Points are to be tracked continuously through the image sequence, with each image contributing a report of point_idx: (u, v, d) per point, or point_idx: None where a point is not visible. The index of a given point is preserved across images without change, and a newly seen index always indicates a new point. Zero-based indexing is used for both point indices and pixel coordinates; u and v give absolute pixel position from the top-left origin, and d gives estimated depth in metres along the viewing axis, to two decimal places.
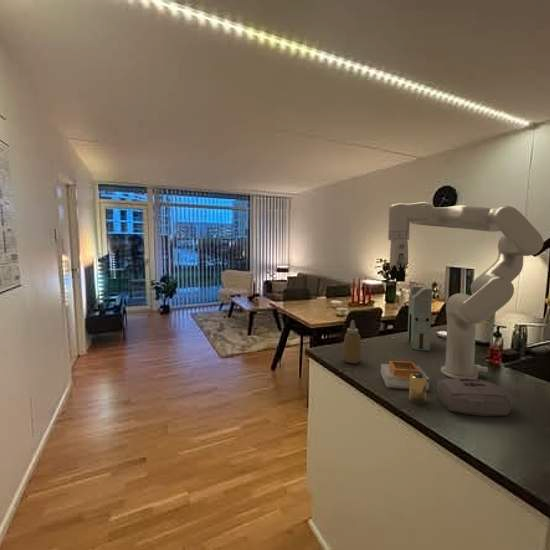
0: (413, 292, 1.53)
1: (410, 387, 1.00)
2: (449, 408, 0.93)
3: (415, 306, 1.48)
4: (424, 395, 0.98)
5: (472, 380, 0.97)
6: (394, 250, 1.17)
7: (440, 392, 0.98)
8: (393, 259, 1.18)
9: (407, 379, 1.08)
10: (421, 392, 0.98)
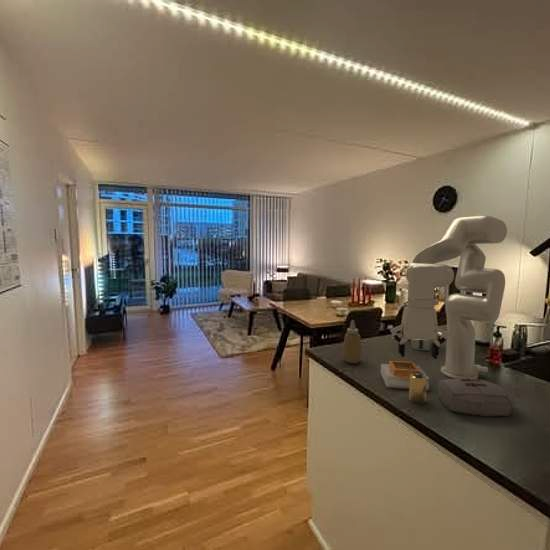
0: None
1: (410, 387, 1.00)
2: (450, 408, 0.93)
3: None
4: (424, 395, 0.98)
5: (473, 380, 0.97)
6: (434, 322, 0.95)
7: (441, 392, 0.98)
8: (429, 333, 0.96)
9: (407, 379, 1.08)
10: (421, 392, 0.98)
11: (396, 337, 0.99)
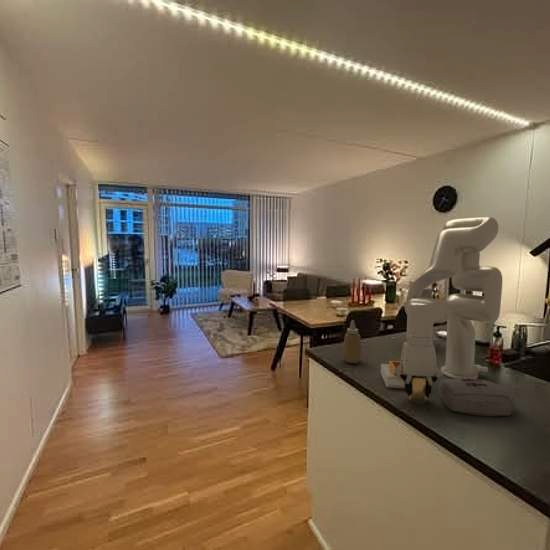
0: None
1: None
2: (451, 408, 0.93)
3: None
4: (424, 395, 0.98)
5: (474, 380, 0.97)
6: (433, 359, 0.96)
7: (442, 392, 0.98)
8: (429, 370, 0.97)
9: None
10: (421, 392, 0.98)
11: (402, 376, 1.00)
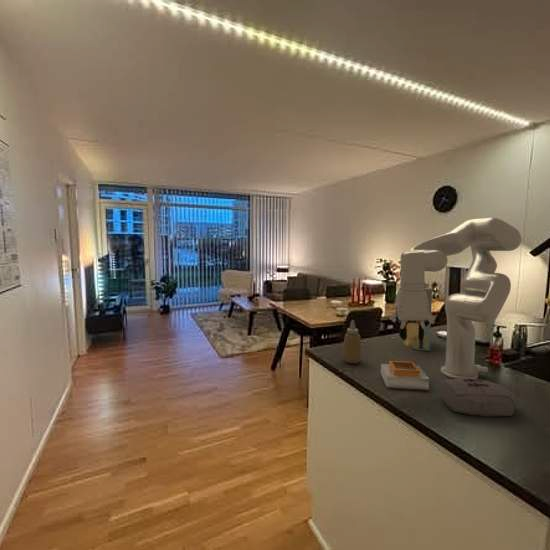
0: None
1: None
2: (453, 409, 0.93)
3: None
4: (418, 338, 1.05)
5: (476, 380, 0.97)
6: (425, 304, 1.03)
7: (444, 393, 0.98)
8: (421, 314, 1.04)
9: (407, 379, 1.08)
10: (415, 335, 1.04)
11: (397, 322, 1.06)
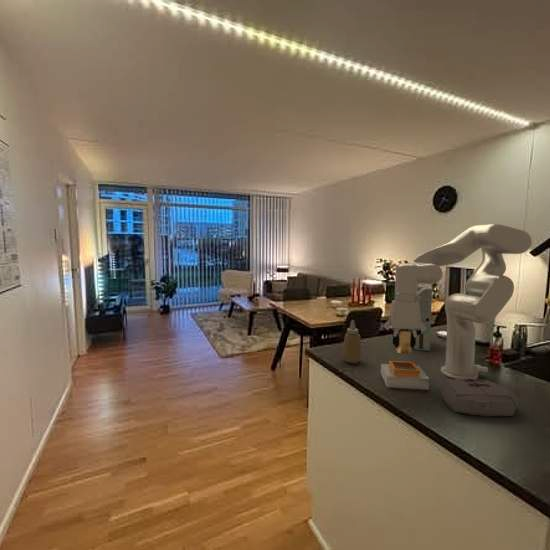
0: None
1: None
2: (454, 409, 0.93)
3: None
4: (409, 346, 1.11)
5: (476, 380, 0.96)
6: (417, 314, 1.09)
7: (445, 393, 0.97)
8: (413, 323, 1.10)
9: (407, 379, 1.08)
10: (407, 343, 1.10)
11: (390, 330, 1.13)
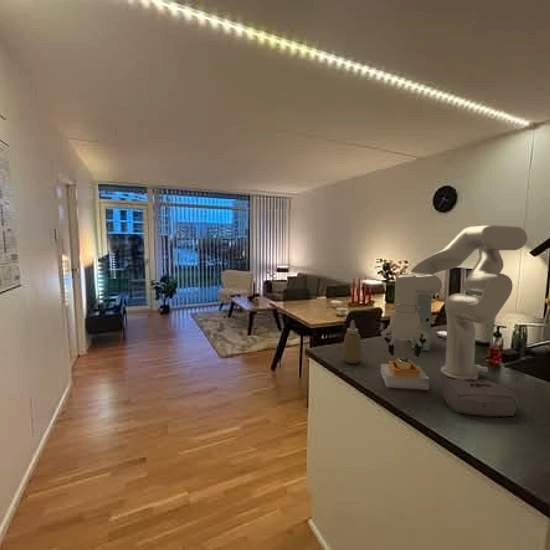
0: None
1: None
2: (455, 409, 0.92)
3: None
4: None
5: (477, 381, 0.96)
6: (417, 324, 1.10)
7: (445, 393, 0.97)
8: (413, 334, 1.10)
9: (407, 379, 1.08)
10: None
11: (386, 339, 1.13)
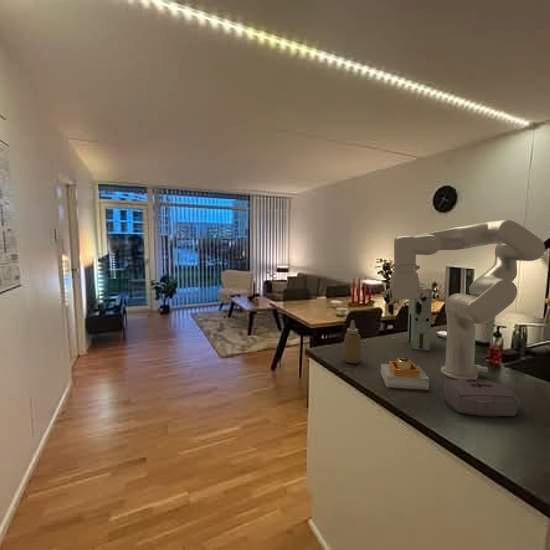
0: None
1: None
2: (457, 410, 0.92)
3: (415, 306, 1.48)
4: None
5: (479, 381, 0.96)
6: (416, 284, 1.13)
7: (447, 393, 0.97)
8: (413, 293, 1.13)
9: (407, 379, 1.08)
10: None
11: (386, 299, 1.16)
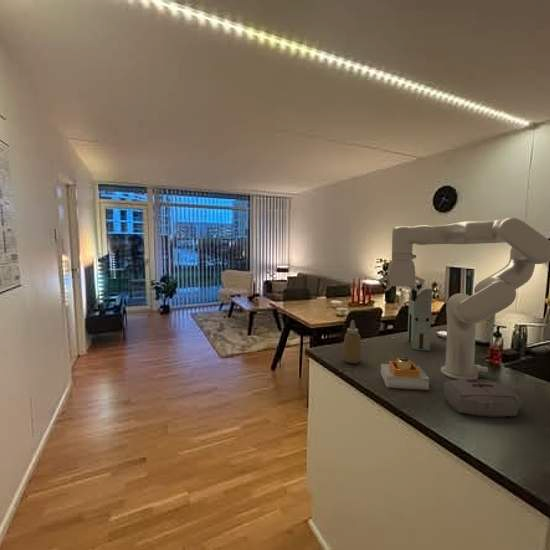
0: None
1: None
2: (458, 410, 0.92)
3: (415, 306, 1.48)
4: None
5: (480, 381, 0.96)
6: (412, 271, 1.20)
7: (448, 393, 0.97)
8: (409, 280, 1.20)
9: (407, 379, 1.08)
10: None
11: (383, 285, 1.23)
